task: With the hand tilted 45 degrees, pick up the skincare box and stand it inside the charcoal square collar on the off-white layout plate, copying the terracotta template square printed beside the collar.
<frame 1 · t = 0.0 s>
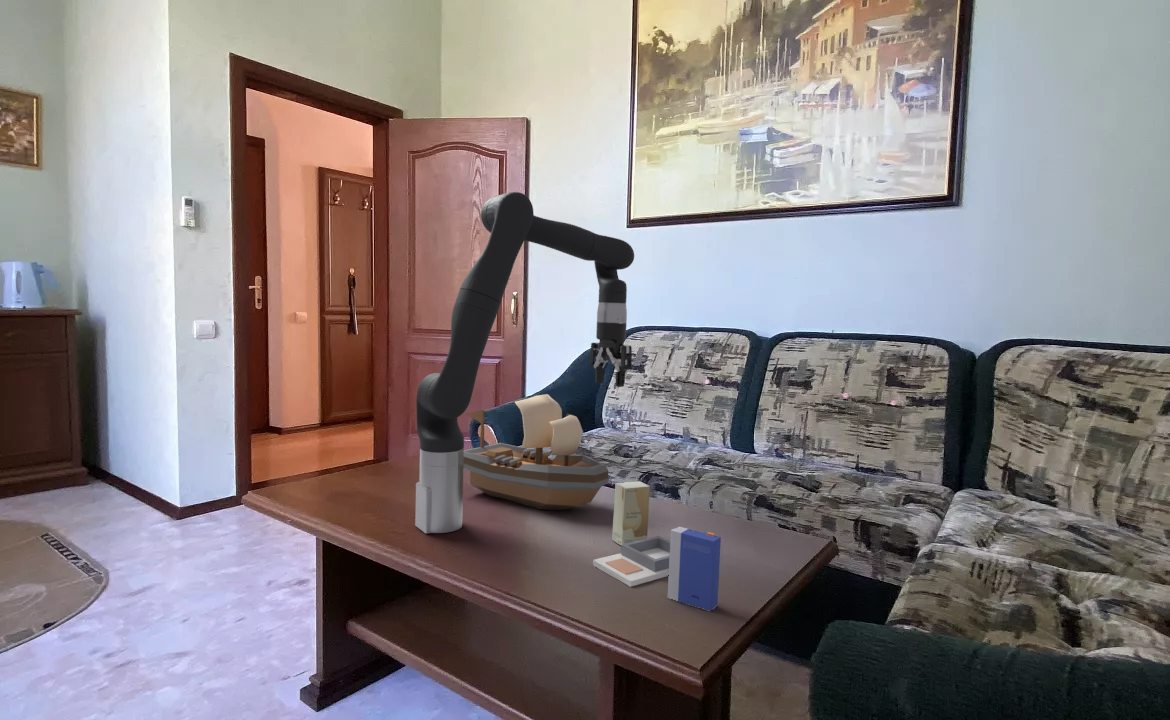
hand: (609, 384, 160), 29 cm above the table, tool pointing down, fingers open, 8 cm apart
layout plate: (644, 566, 118), on the table
sailing ship: (526, 499, 159), on the table
skincare box: (629, 542, 131), on the table
walkman: (692, 603, 104), on the table
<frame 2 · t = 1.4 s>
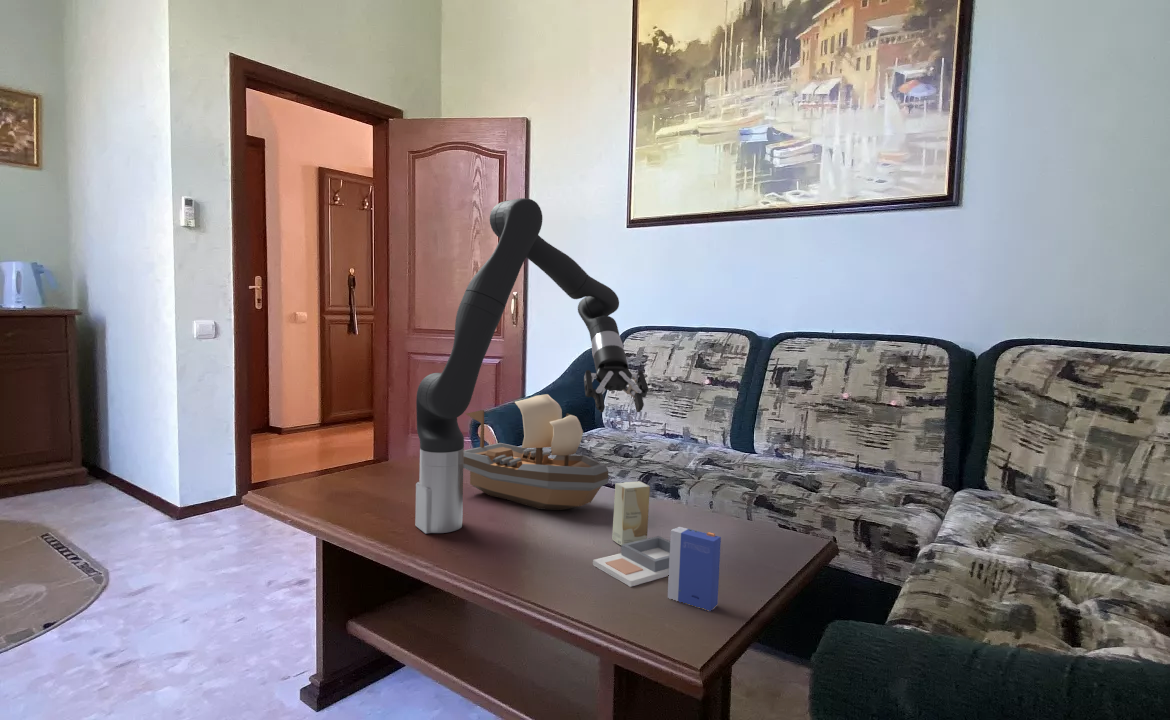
hand: (621, 410, 138), 26 cm above the table, tool tilted 45°, fingers open, 8 cm apart
nothing on the table moved.
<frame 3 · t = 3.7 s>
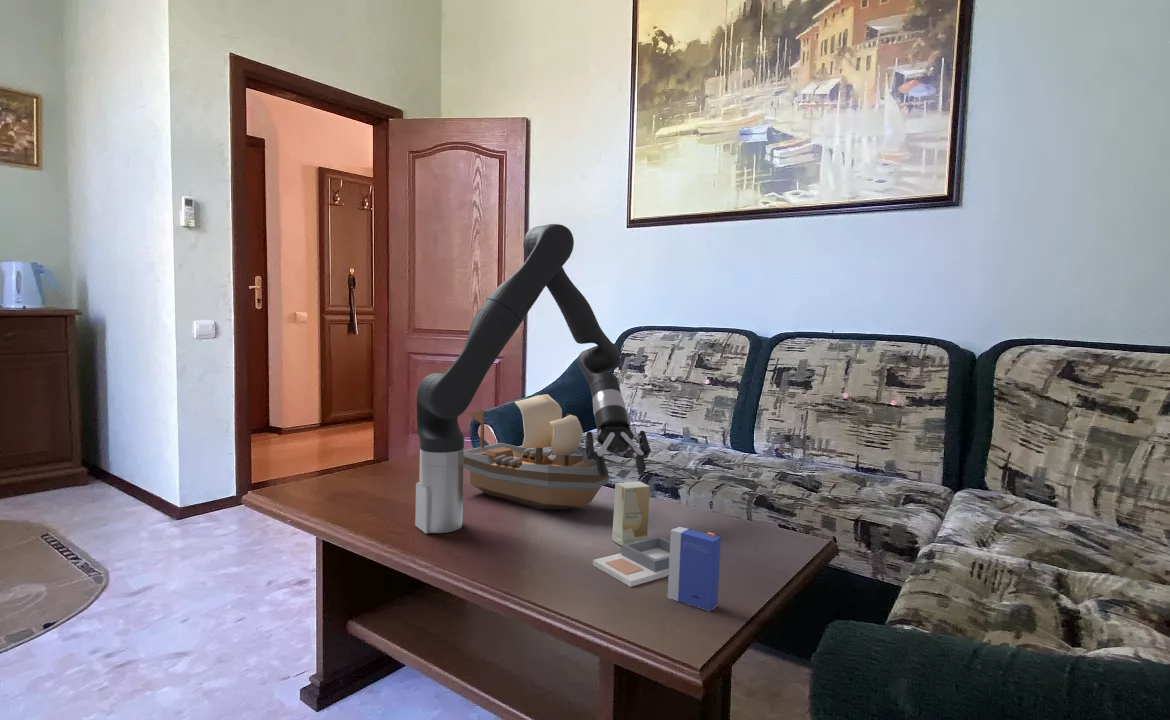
hand: (623, 473, 137), 13 cm above the table, tool tilted 45°, fingers open, 8 cm apart
nothing on the table moved.
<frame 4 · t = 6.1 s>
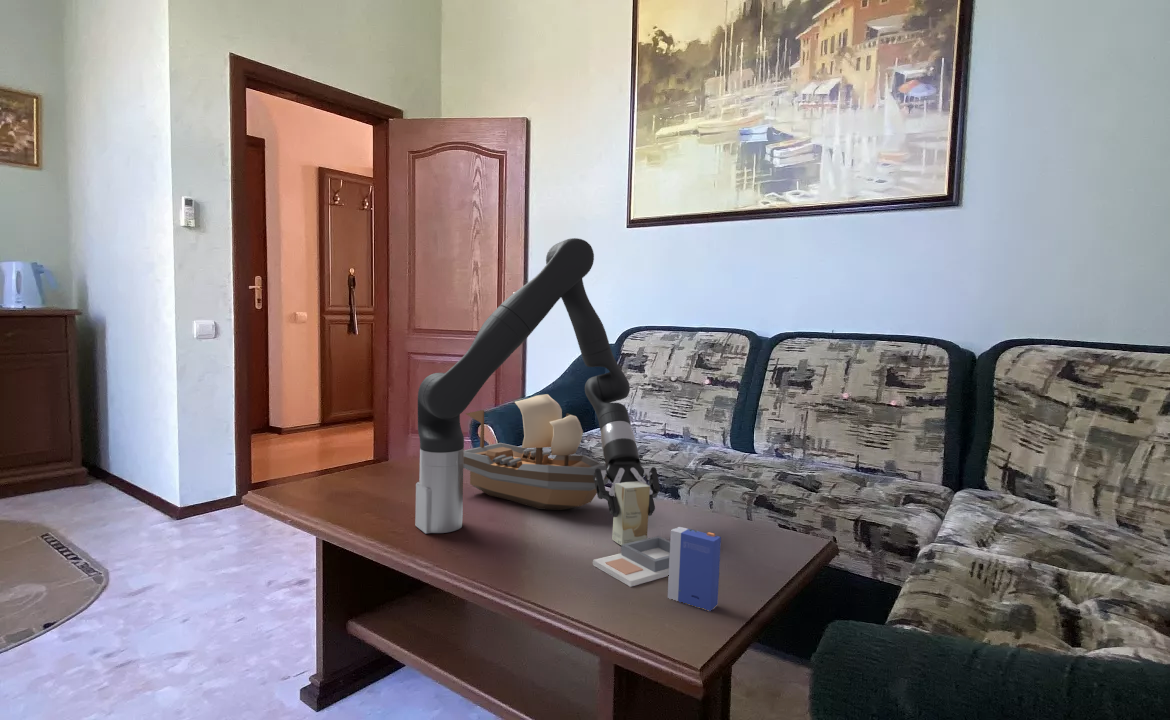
hand: (633, 514, 129), 6 cm above the table, tool tilted 45°, fingers closed on skincare box, 7 cm apart
skincare box: (629, 542, 131), on the table, touching gripper
everything else where it was.
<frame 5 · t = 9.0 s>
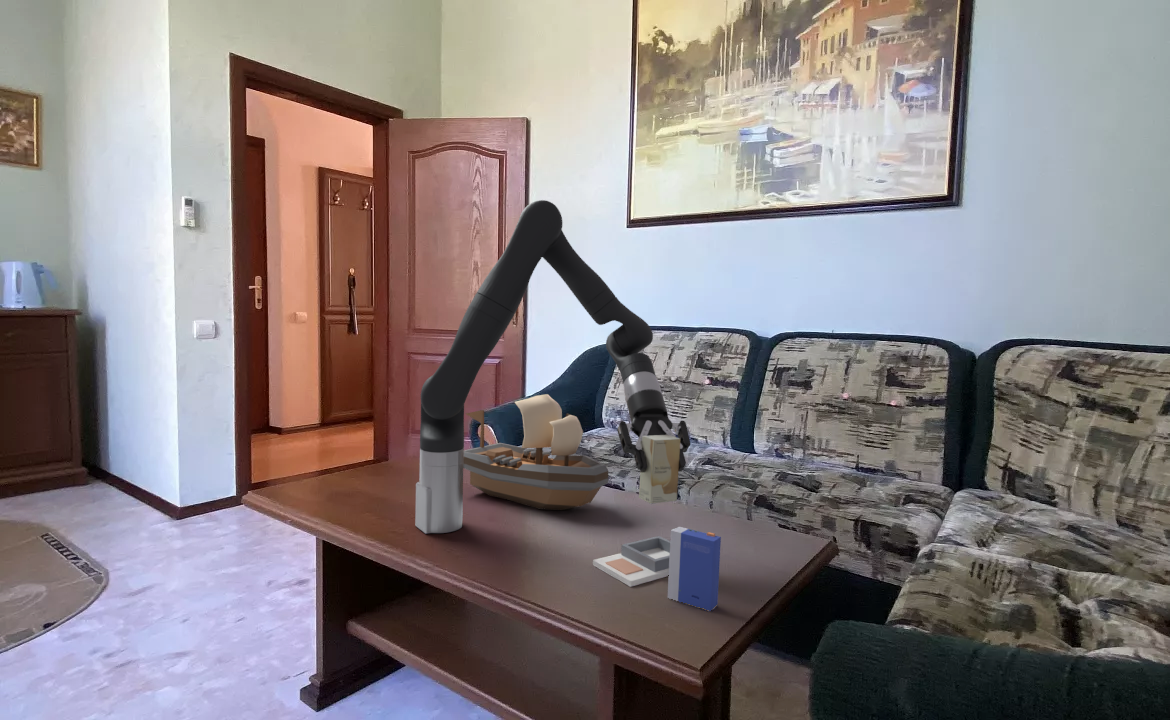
hand: (662, 469, 118), 18 cm above the table, tool tilted 45°, fingers closed on skincare box, 7 cm apart
skincare box: (658, 500, 120), point 12 cm above the table, touching gripper
everything else where it was.
when the fingers open (8 cm above the table, at t = 12.0 s): skincare box drops 1 cm, resting on layout plate.
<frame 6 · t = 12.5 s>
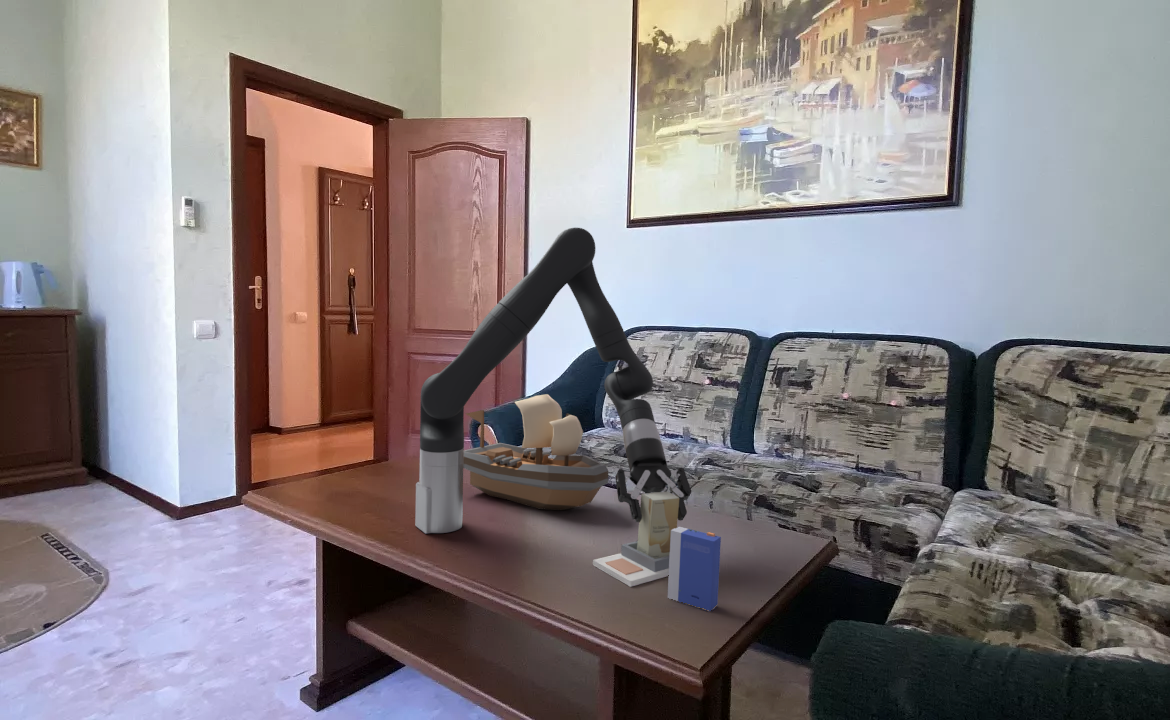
hand: (660, 519, 118), 9 cm above the table, tool tilted 45°, fingers open, 8 cm apart
skincare box: (655, 558, 120), point 1 cm above the table, touching layout plate
everything else where it was.
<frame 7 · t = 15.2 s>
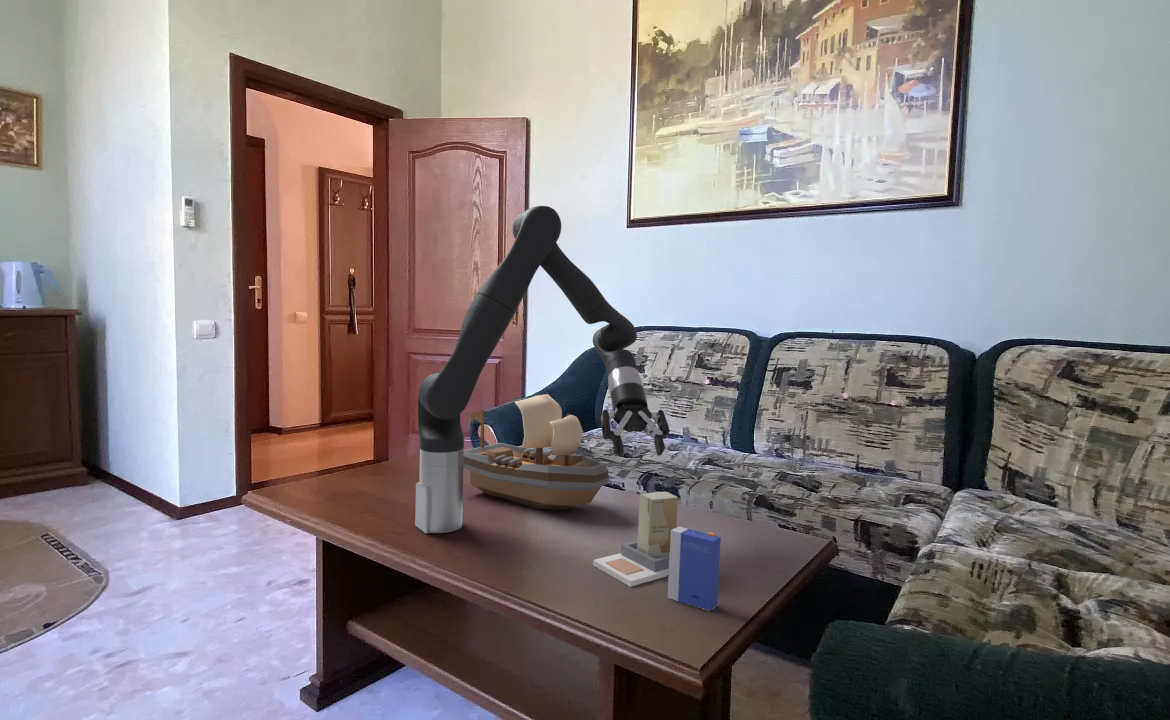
hand: (641, 453, 130), 19 cm above the table, tool tilted 45°, fingers open, 8 cm apart
nothing on the table moved.
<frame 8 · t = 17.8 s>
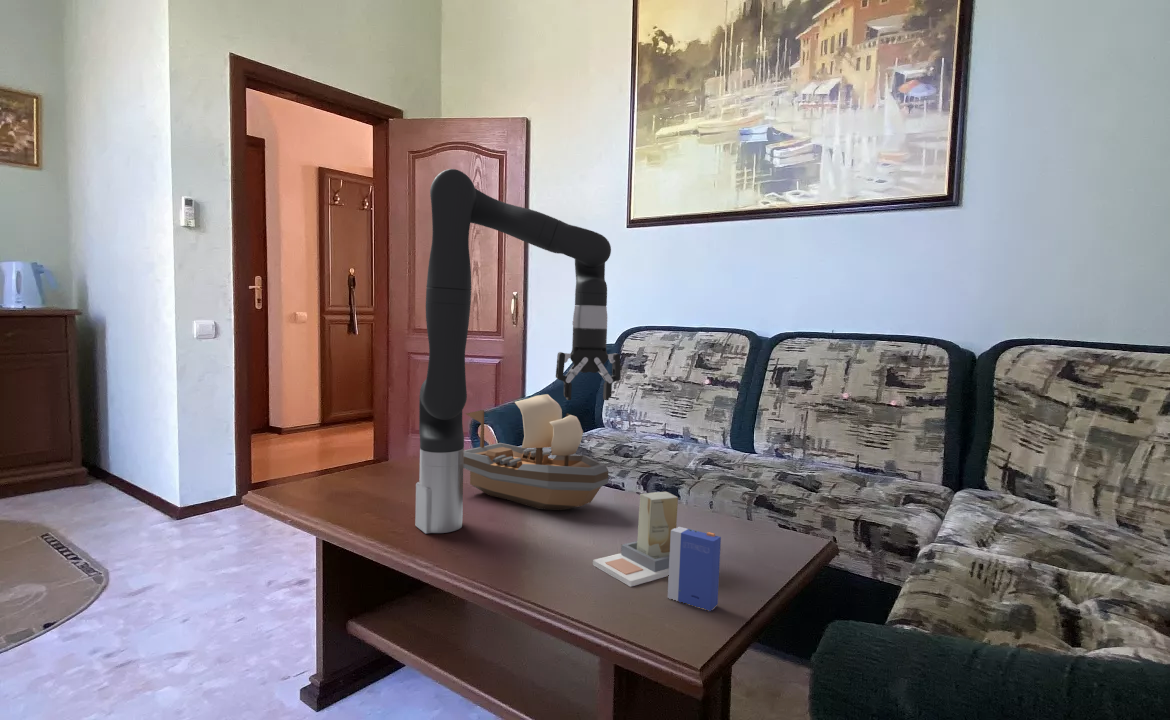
hand: (587, 399, 139), 28 cm above the table, tool pointing down, fingers open, 8 cm apart
nothing on the table moved.
at the end: skincare box 0.2 cm from the target spot on the layout plate, point 0.8 cm above the layout plate's base; skincare box tilted 0°; the gripper is holding nothing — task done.
